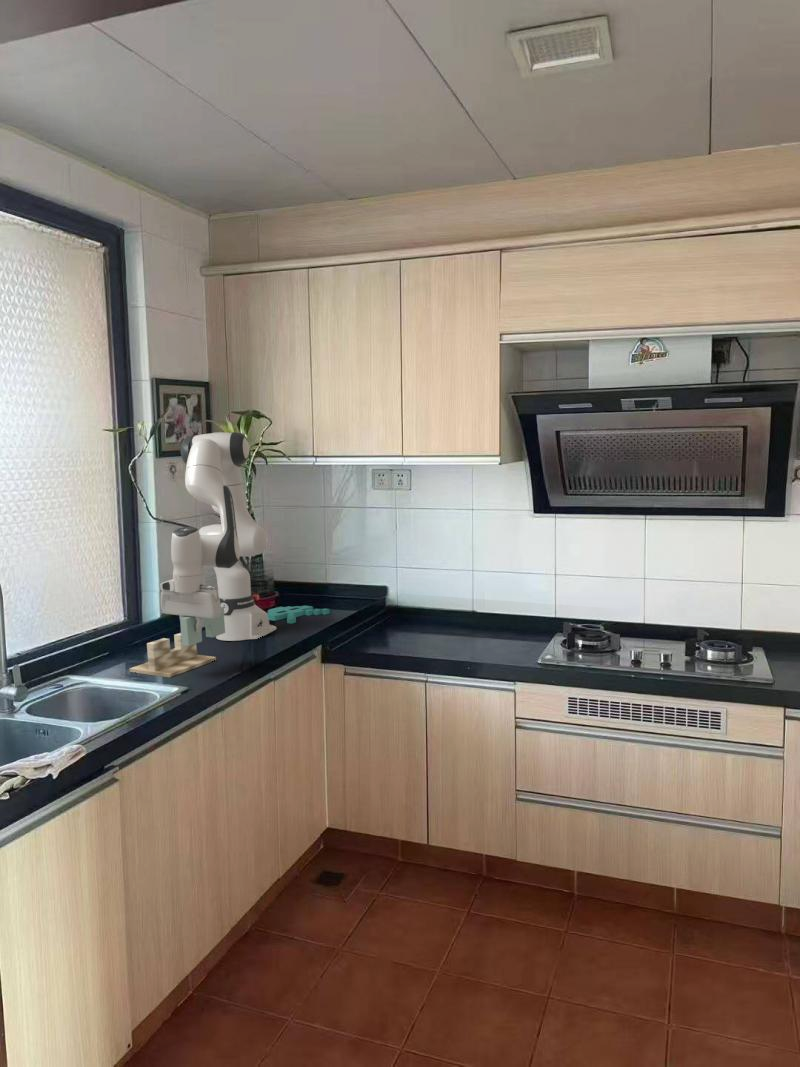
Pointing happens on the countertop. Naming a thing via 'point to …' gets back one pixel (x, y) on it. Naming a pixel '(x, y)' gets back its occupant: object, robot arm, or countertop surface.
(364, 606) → the countertop surface
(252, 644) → the countertop surface
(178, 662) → the slotted stand
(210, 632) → the crossbar
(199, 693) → the countertop surface
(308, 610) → the alien figure
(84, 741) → the countertop surface
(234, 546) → the robot arm
